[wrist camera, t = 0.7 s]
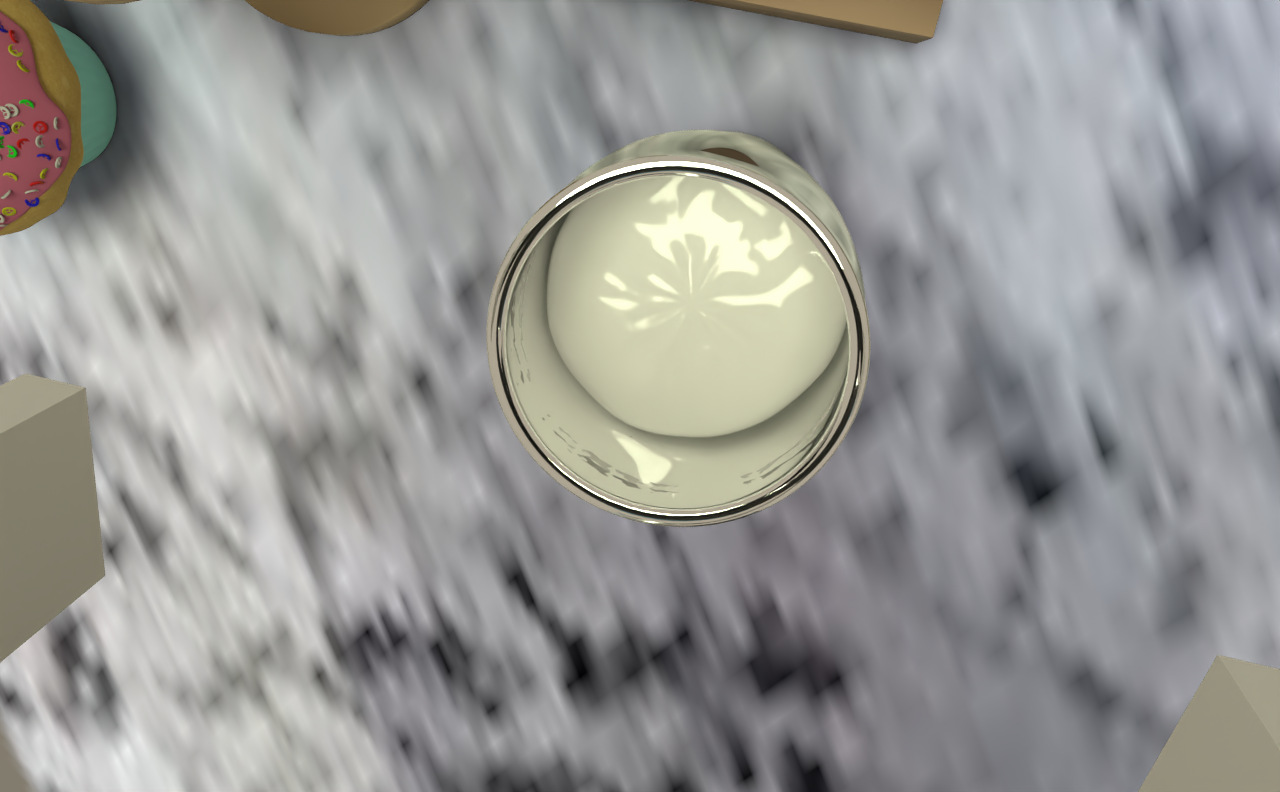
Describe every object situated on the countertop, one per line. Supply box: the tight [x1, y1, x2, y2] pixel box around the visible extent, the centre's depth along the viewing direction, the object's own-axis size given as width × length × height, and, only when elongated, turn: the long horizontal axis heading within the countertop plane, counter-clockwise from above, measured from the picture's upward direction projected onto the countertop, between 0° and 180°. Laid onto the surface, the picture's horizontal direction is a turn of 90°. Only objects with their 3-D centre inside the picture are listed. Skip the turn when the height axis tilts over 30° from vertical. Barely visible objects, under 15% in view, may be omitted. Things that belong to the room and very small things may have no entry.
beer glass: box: [486, 130, 870, 527], centre depth 22 cm, size 7×7×15 cm
